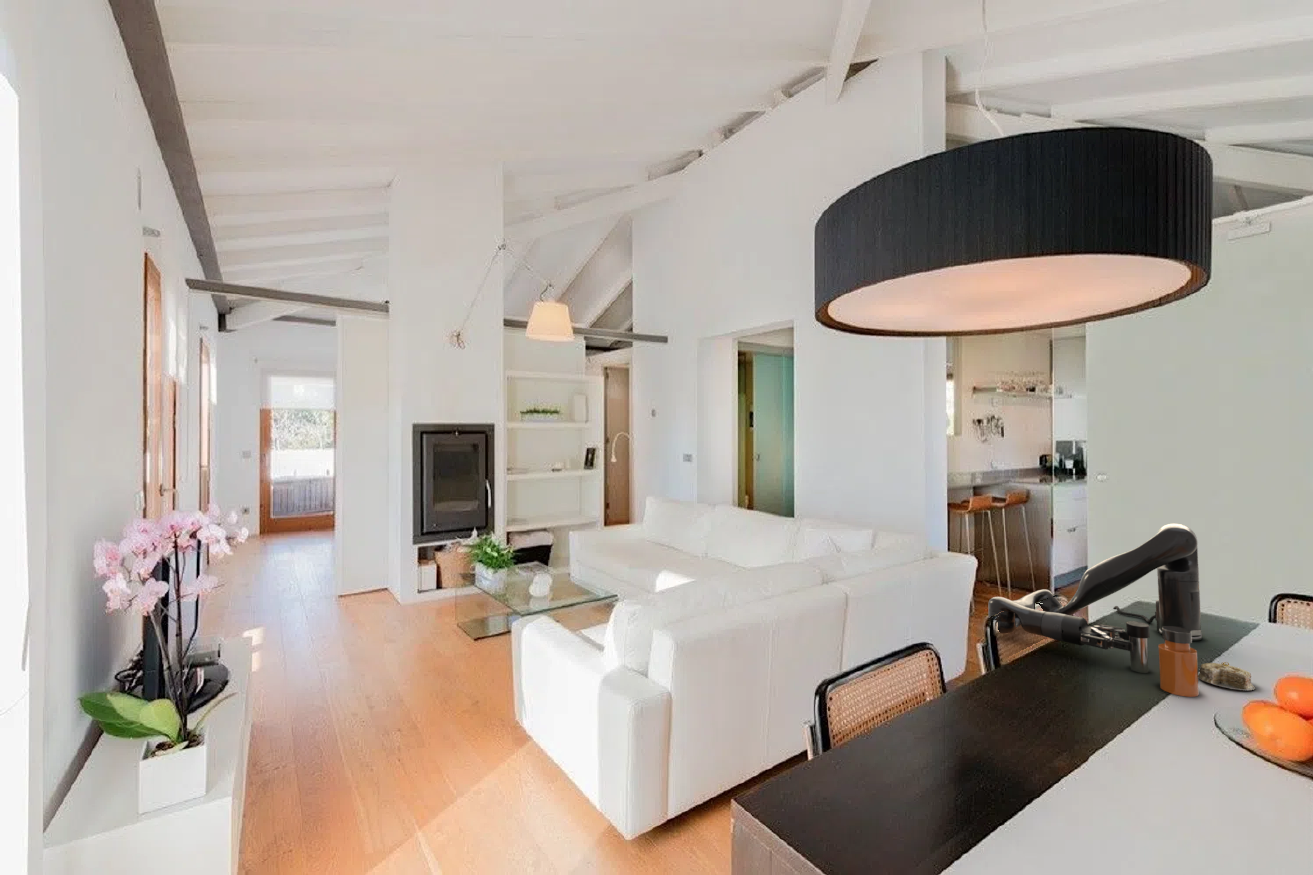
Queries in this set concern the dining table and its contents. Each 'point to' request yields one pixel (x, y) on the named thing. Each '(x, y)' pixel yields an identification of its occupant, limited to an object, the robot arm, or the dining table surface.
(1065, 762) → the dining table surface
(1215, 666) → the cake
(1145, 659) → the silver shaker
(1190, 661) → the bottle
